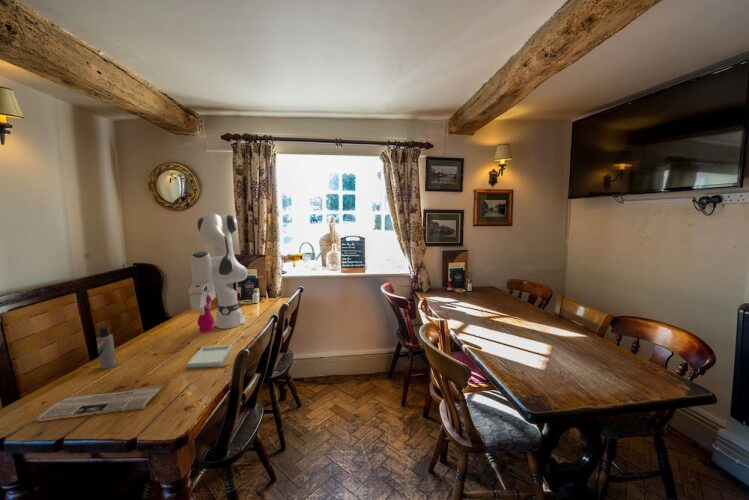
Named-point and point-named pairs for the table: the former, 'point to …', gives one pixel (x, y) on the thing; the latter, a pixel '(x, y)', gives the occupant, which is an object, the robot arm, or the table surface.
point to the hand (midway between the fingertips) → (205, 312)
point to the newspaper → (102, 403)
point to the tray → (210, 357)
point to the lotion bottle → (105, 348)
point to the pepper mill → (206, 318)
